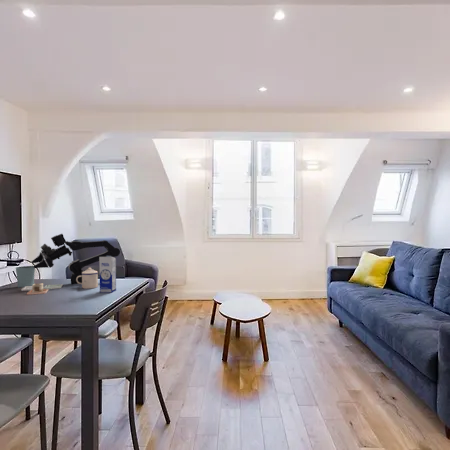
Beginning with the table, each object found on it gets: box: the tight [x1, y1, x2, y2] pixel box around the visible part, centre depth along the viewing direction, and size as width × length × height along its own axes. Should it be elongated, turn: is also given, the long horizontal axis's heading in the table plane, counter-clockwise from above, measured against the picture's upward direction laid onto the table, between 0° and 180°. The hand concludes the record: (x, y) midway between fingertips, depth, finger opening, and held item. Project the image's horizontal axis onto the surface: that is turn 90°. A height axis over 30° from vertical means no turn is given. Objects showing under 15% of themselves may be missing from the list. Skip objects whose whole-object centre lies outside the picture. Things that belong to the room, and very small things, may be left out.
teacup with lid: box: [76, 267, 99, 290], centre depth 204 cm, size 12×9×12 cm
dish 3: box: [43, 283, 64, 290], centre depth 202 cm, size 9×9×1 cm
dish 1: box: [21, 286, 32, 292], centre depth 198 cm, size 9×9×1 cm
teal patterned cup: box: [15, 265, 36, 288], centre depth 208 cm, size 10×10×12 cm
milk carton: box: [98, 256, 117, 294], centre depth 192 cm, size 7×7×20 cm
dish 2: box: [26, 289, 50, 296], centre depth 188 cm, size 9×9×1 cm
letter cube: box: [32, 282, 44, 293], centre depth 188 cm, size 4×5×5 cm
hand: (32, 264), depth 204 cm, fingers open, 9 cm apart
